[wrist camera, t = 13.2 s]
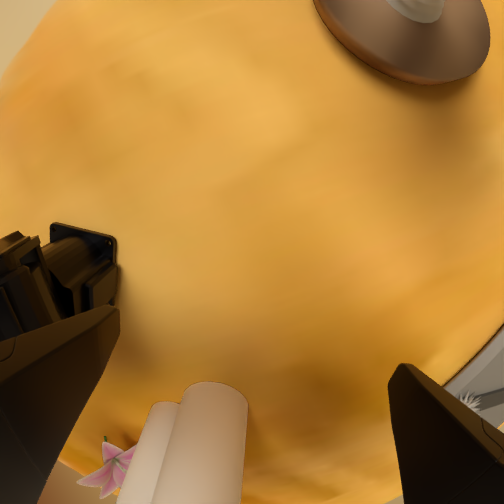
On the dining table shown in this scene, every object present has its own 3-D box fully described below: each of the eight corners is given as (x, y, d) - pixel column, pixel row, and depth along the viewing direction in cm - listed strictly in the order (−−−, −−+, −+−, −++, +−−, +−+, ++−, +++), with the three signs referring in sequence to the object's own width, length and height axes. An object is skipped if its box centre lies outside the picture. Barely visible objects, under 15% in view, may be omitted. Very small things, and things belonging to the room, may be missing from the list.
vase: (214, 370, 25) (168, 592, 6) (265, 411, 27) (258, 603, 8) (142, 410, 28) (84, 565, 9) (189, 443, 30) (157, 589, 11)
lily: (146, 465, 35) (162, 513, 26) (71, 454, 29) (75, 505, 21) (164, 412, 35) (185, 464, 26) (77, 396, 29) (79, 452, 20)
